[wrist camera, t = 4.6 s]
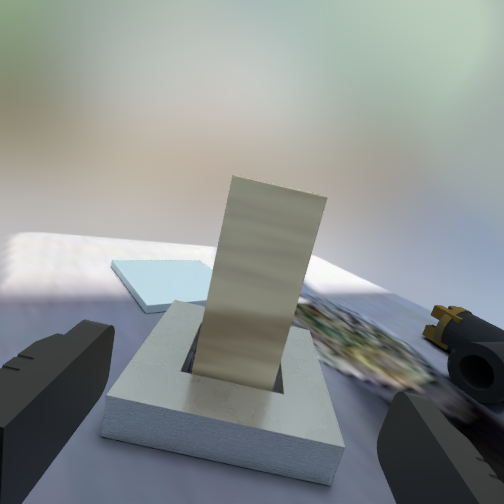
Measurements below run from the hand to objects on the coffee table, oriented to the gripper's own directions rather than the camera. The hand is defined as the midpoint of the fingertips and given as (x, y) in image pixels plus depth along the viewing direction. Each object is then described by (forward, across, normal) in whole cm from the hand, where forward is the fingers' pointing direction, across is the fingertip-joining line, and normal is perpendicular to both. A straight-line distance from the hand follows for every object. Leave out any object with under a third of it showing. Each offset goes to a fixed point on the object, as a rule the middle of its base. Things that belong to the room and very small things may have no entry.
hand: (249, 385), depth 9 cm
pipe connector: (+23, -27, +9) cm, 37 cm away
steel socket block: (+11, 0, +9) cm, 14 cm away
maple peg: (+11, 0, +9) cm, 14 cm away
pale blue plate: (+27, +8, +9) cm, 29 cm away
